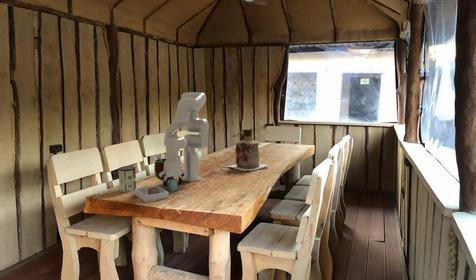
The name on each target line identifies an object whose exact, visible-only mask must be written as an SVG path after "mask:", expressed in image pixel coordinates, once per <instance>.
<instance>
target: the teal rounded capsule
mask: <svg viewBox="0 0 476 280" xmlns="http://www.w3.org/2000/svg"><path fill="white" fill-rule="evenodd" d="M168 182H169V188H168V192H177V191H178V178H175V177H174V178H172V179H169V180H168Z"/></svg>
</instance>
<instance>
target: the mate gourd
mask: <svg viewBox="0 0 476 280" xmlns="http://www.w3.org/2000/svg"><path fill="white" fill-rule="evenodd" d="M155 157H156V158H157V159H155V160H154V174H155V176H156V178H157V179H158V180H161V181H163V180H162V179H161V178H160V176H159V173H161V172H162V171H164V162H165V160H166V157H164V158H162V157H161V155H158V154H155ZM162 176H163V177H164V174H162ZM172 178H175V177H168V178H167V179H166V181H167V187H165V186H164V185H163V182H162V183H158V184H156V185H155V186H159V187H160V188H163V189H164V190H165V189H169V179H172Z"/></svg>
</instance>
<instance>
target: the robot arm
mask: <svg viewBox="0 0 476 280" xmlns="http://www.w3.org/2000/svg"><path fill="white" fill-rule="evenodd" d="M206 101H207V95H206V94H205V93H204V92H191V91H190V92H184V93H182V94H181V95H180V99H179V100H178V102H177V105H176V110H175V111H176V112H175V116H174V117H175V118H174V120H173V122H171V123H170V124H169V126H168V127H167V128H166V130H165V133H164V138H163V139H164V140H163V145H164V147H165V158H166V160H165V162H164V171H162V172H161V173H159V176H160V178H161V179H162V180H161V181H162V183H163V185H164V186H165V187H167V181H166V179H167V178H168V177H174V178H175V177H178V178H177V185H180V186H181V185H182V183H183V181H184V182H198V181H200V180H201V176H199V153H198V151H197V149H198V150H199V149H201V150H202V149H203V150H205V149H206V148H207V147H208V144H209V130H210V128H209V126H210V124H209V122H208V120H207V119H205V118H199V113H200V112H199V111H201V109H203V108H202V107H204V106H205V104H206ZM184 126H185V130H186V131H187V132H189V133H188V134H185V135H183V136H174V135H173V134H174V132H175V131H176V130H177V129H179V128H182V127H184ZM190 133H192V134H190ZM193 133H195V134H193ZM196 133H198V134H196ZM199 133H200V134H199ZM182 149H183V164H184V166H183V169H182V166H181V161H180V158H181V155H179V150H182ZM162 174H164V177H163V176H162Z"/></svg>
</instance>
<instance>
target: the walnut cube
mask: <svg viewBox="0 0 476 280" xmlns="http://www.w3.org/2000/svg"><path fill="white" fill-rule="evenodd" d="M157 193H160V189H159V188H157V187H153V188H148V195H151V194H157Z"/></svg>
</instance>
